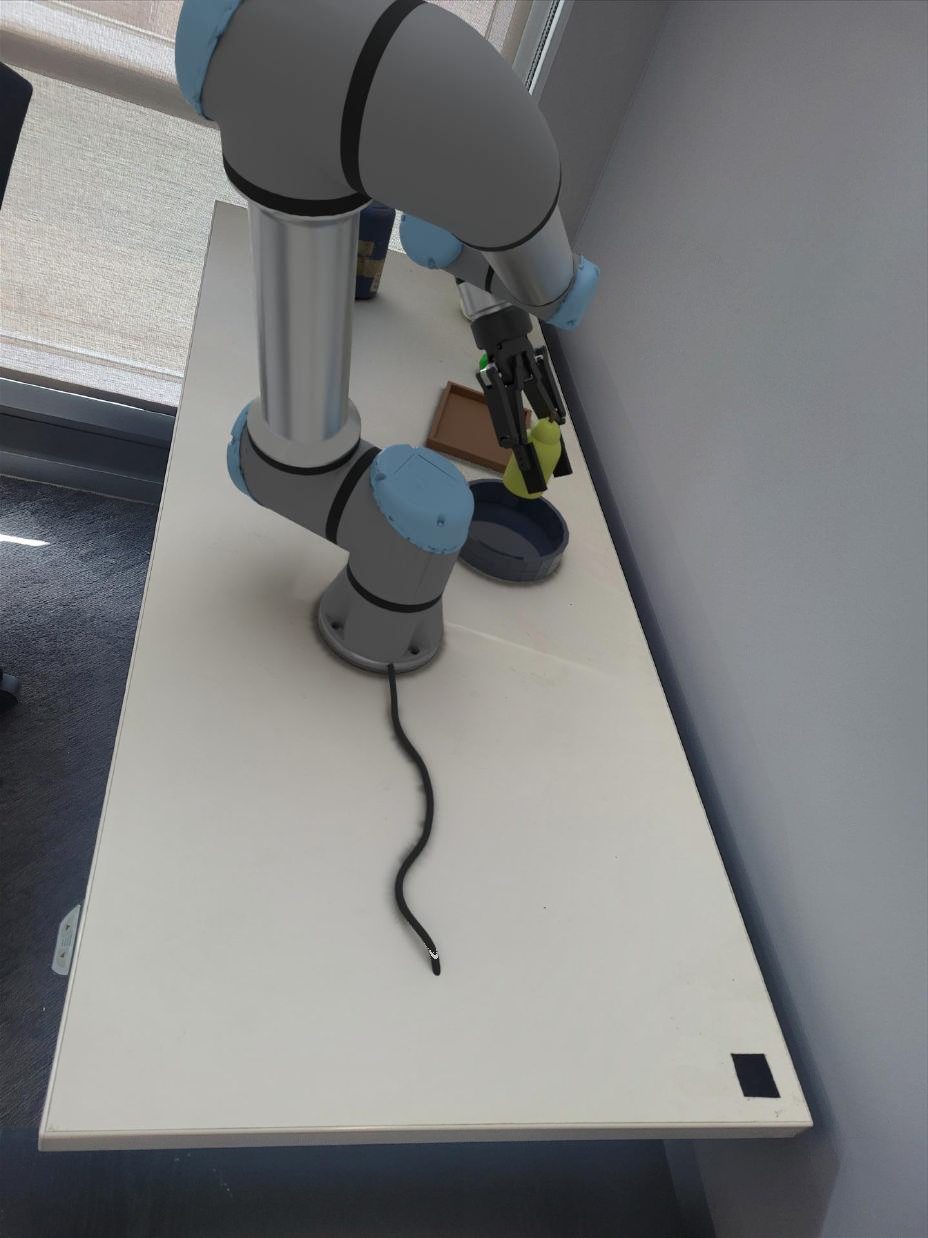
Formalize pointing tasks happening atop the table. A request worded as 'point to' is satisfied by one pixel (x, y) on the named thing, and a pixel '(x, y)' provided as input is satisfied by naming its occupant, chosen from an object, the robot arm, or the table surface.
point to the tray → (469, 429)
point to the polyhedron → (483, 362)
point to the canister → (372, 247)
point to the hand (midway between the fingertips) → (551, 483)
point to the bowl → (513, 533)
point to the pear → (547, 450)
